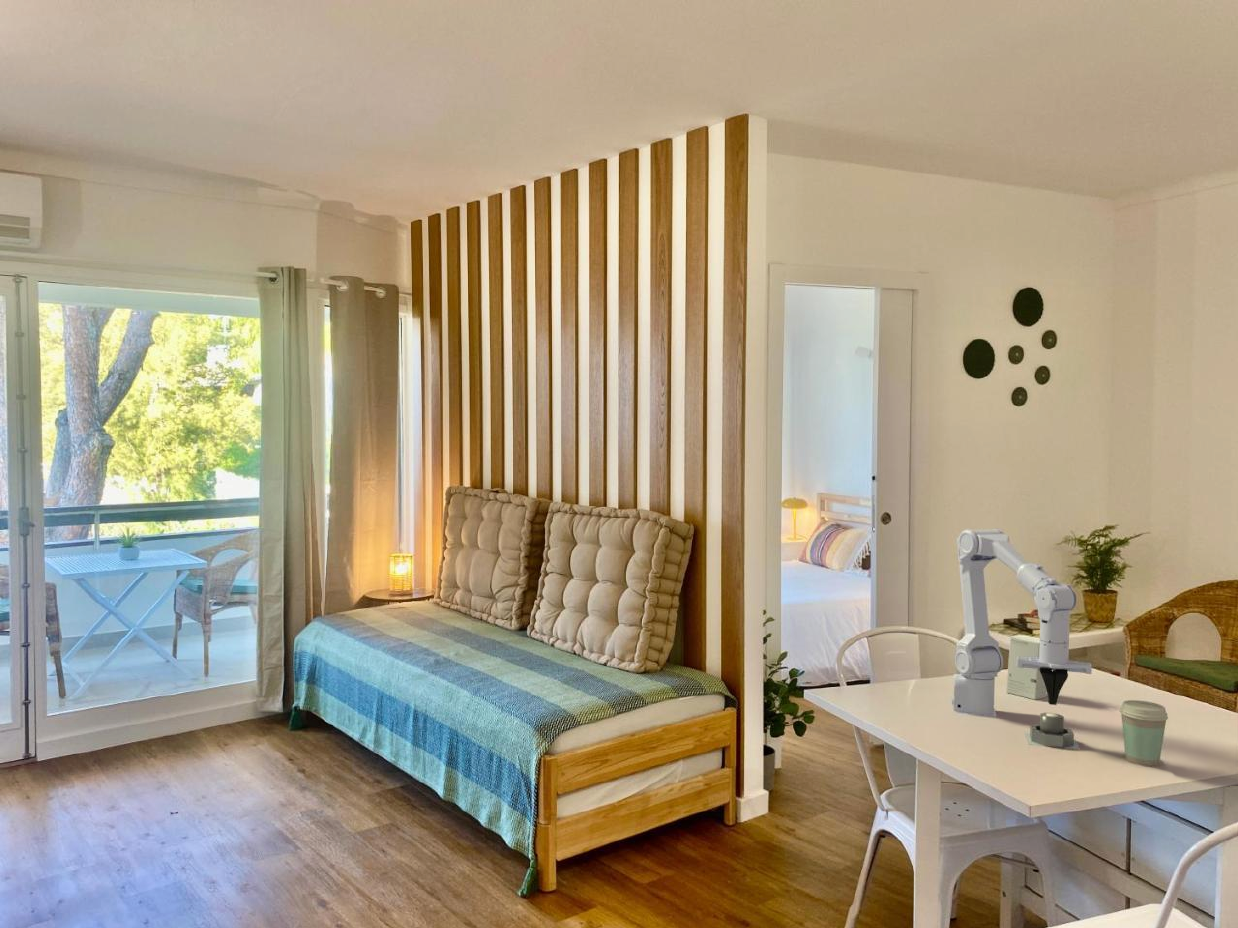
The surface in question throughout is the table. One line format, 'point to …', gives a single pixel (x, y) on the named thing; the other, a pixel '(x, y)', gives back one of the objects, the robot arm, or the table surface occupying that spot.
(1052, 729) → the cap
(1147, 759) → the coffee cup
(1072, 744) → the octagonal ring mount
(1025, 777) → the table surface
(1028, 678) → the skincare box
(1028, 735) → the plate
